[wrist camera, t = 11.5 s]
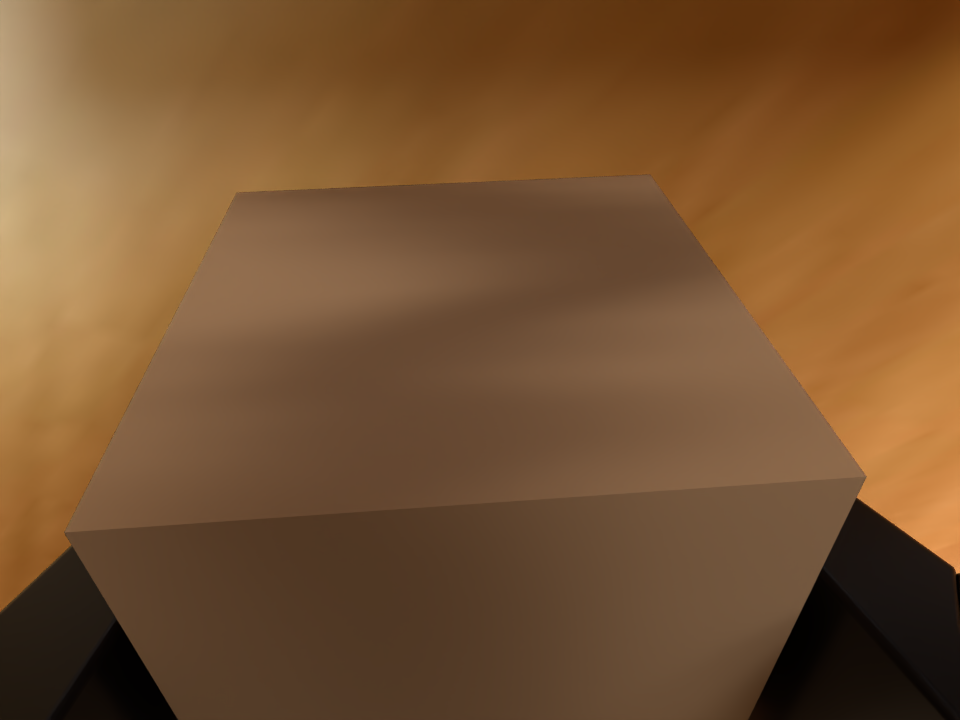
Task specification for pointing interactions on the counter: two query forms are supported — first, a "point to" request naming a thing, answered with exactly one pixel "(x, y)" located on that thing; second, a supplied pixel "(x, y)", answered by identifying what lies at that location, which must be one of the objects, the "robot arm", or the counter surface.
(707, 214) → the counter surface
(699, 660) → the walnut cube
